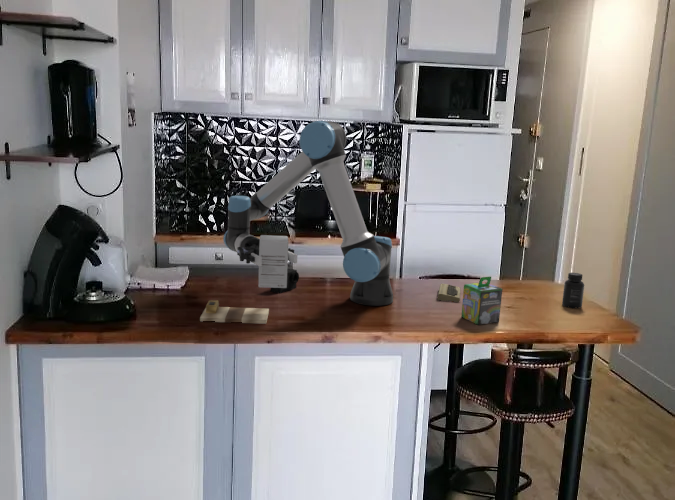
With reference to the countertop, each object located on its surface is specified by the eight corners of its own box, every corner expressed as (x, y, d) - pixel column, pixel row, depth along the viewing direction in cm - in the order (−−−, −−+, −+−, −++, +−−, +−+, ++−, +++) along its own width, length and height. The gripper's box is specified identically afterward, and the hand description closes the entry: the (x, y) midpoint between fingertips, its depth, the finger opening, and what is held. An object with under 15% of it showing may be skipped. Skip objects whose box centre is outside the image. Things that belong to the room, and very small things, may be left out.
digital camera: (282, 294, 233) (283, 275, 231) (270, 291, 235) (270, 272, 234) (299, 288, 241) (299, 270, 240) (287, 286, 244) (287, 268, 243)
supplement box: (258, 280, 209) (259, 234, 206) (286, 281, 210) (288, 235, 207) (257, 287, 200) (259, 240, 197) (286, 288, 201) (288, 241, 198)
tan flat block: (459, 303, 233) (460, 294, 233) (436, 301, 235) (437, 292, 234) (460, 293, 248) (461, 284, 248) (439, 290, 250) (439, 282, 249)
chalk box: (481, 314, 220) (486, 271, 217) (500, 322, 212) (504, 278, 209) (459, 317, 215) (463, 273, 212) (477, 325, 207) (482, 280, 204)
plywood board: (268, 312, 210) (269, 300, 210) (266, 323, 199) (266, 311, 198) (206, 309, 209) (206, 298, 209) (200, 321, 198) (200, 309, 197)
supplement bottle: (584, 306, 236) (589, 274, 234) (577, 310, 231) (581, 277, 229) (566, 302, 240) (570, 270, 238) (558, 305, 236) (562, 273, 233)
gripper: (281, 255, 225) (311, 269, 207) (215, 259, 213) (242, 275, 195) (282, 234, 224) (313, 246, 206) (216, 237, 212) (243, 250, 193)
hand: (278, 260), depth 200 cm, fingers closed on supplement box, 11 cm apart
